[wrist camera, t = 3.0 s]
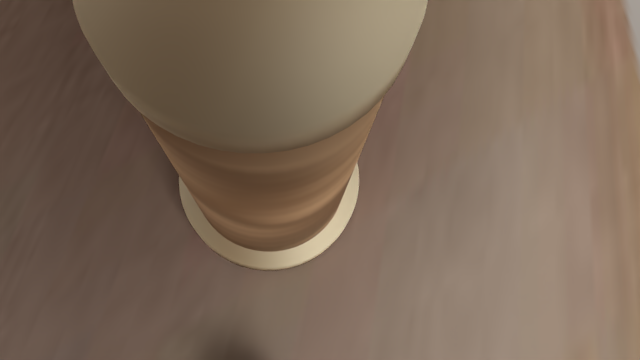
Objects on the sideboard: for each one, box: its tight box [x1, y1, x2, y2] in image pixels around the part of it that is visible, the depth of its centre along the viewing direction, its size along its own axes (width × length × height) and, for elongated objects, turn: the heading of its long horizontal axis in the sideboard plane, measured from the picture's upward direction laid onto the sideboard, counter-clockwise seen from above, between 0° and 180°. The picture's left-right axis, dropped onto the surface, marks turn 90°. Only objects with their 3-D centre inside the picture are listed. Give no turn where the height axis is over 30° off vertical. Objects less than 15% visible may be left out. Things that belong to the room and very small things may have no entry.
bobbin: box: [72, 0, 428, 271], centre depth 15 cm, size 6×6×13 cm
